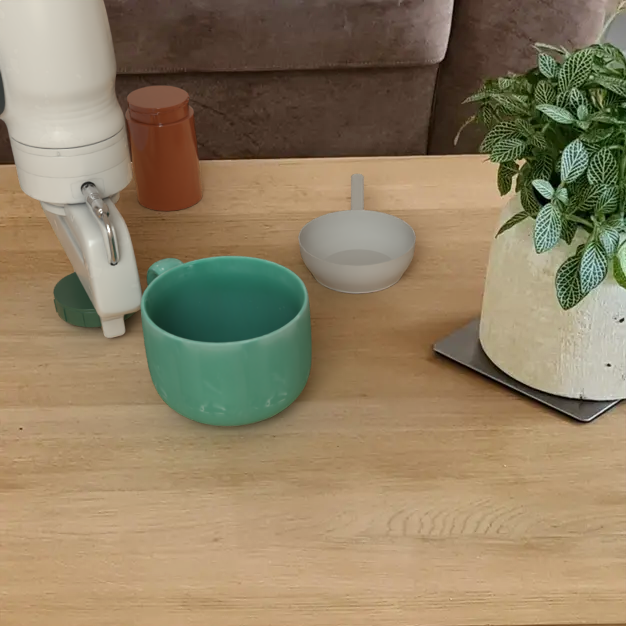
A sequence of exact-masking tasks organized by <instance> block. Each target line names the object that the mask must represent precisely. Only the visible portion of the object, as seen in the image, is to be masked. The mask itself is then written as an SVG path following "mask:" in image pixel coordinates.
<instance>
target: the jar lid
mask: <svg viewBox="0 0 626 626" xmlns="http://www.w3.org/2000/svg"><path fill="white" fill-rule="evenodd" d="M52 294H53V305H54V308H55V312H56V313H57V315H58V317H59V318H60V319H61V320H63V321H64V322H65V323H66V324H70V325H73V326H76V327H81V328H101V327H100V322H99V318H98V313H97V312H96V310H95V308H94V306H93V304H92V302H91V300H90V298H89V296H88V294H87V293H86V291H85V289H84V287H83V285H82V283H81V281H80V279H79V278H78V276H77V274H76V272H74V271H73V272H72V273H69V274H67V275H65V276H64V277H61V279H59V280H58V281H57V283H56V284H55V286H54V288H53V292H52ZM137 312H138V311H136V312H133V313H129V314H125V315H124V317H123V318H124V321H126V320H129V318H131V317H132V316H134V315H135V314H136V313H137Z"/></svg>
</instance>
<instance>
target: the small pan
mask: <svg viewBox="0 0 626 626" xmlns="http://www.w3.org/2000/svg"><path fill="white" fill-rule="evenodd" d="M297 239H298V244H299V245H298V246H299V252H300V258H301V260H302V261H303V264H304V265H305V267H306V269H307V270H308V271H309V272H310V273H311V275H312V276H313V278H314V279H315V280H316V281H317V283H318V284H320V285H321V286H323V287H325V288H327V289H329V290H332V291H335V292H339V293H346V294H369V293H374V292H380V291H383V290H386V289H388V288H390V287H392V286H394V285H396V284H397V283H398V282H399V281H400V280H401V279H402V277H403V276H404V274H405V273H406V271H407V269H408V268H409V267H410V265H411V263H412V262H413V259H414V255H415V251H416V250H415V249H416V239H417V236H416V232H415V229H413V227H412V225H410V224H409V223H408V222H407V221H405V220H404V219H402V218H400V217H398V216H396V215H392V214H391V213H386V212H383V211H377V210H370V209H365V176H364V174H362V173H353V174H352V175H351V176H350V209H346V210H345V209H344V210H337V211H332V212H328V213H326V214H322V215H319V216H317V217H315V218H312V219H311V220H310V221H308V222H307V223H306V224H305V225H303V226H302V228H301V229H300V231H299V233H298V238H297Z"/></svg>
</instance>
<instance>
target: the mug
mask: <svg viewBox="0 0 626 626" xmlns="http://www.w3.org/2000/svg"><path fill="white" fill-rule="evenodd" d="M146 272H147V273H146V286H147V287H146V288H145V289H144V291H143V292H142V299H141V309H140V317H141V319H140V320H141V327H142V335H143V343H144V350H145V357H146V362H147V367H148V372H149V375H150V379H151V382H152V384H153V386H154V389H155V390H156V392H157V394H158V395H159V397H160V398H161V399H162V400H163V402H164V403H165V404H166V405H167V406H168V407H169V408H170V409H172V411H174V412H176V413H177V414H179V415H180V416H183V417H184V418H186V419H189V420H191V421H193V422H196V423H199V424H204V425H208V426H217V427H239V426H247V425H251V424H256V423H260V422H263V421H265V420H267V419H270V418H272V417H275V416H276V415H278V414H280V413H281V412H283V411H284V410H286V409H287V408H289V407H290V406H291V405H292V404H293V403H294V402H295V401H296V400H297V399H298V397H299V396H300V395H302V394H301V393H302V392H303V391H304V389H305V387H306V385H307V383H308V380H309V378H310V374H311V373H310V372H311V368H312V359H313V358H312V357H313V354H312V353H313V345H312V343H313V342H312V341H313V340H312V320H311V307H310V306H311V305H310V297H309V292H308V289H307V286H306V284H305V283H304V281H303V279H302V277H300V276H299V275H298V274H297V273H295V272H294V271H293V270H291V269H290V268H288V267H287V266H284V265H282V264H280V263H277V262H275V261H271V260H269V259H264V258H260V257H254V256H245V255H218V256H217V255H216V256H209V257H203V258H197V259H194V260H190V261H186V262H183V261H182V260H181V259H178V258H175V257H166V258H161V259H159V260H157V261H155V262H153V263H152V264H151V265H150V266H149V267H148V268H147V271H146Z"/></svg>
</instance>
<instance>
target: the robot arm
mask: <svg viewBox="0 0 626 626" xmlns="http://www.w3.org/2000/svg"><path fill="white" fill-rule="evenodd" d="M111 31H112V30H111V26H110V22H109V16H108V13H107V8H106V5H105V1H104V0H0V120H1V121H3V122H4V123H5V126H6V129H7V132H8V137H9V142H10V147H11V151H12V155H13V160H14V165H15V169H16V174H17V179H18V183H19V187H20V189H21V191H22V192H23V193H24V194H25V195H26V196H27V197H30V198H31V199H34V200H36V201H38V202H39V204H40V206H41V209H42V211H43V214H44V216H45V217H46V220H47V221H48V223H49V225H50V227H51V229H52V230H53V233H54V234H55V236H56V238H57V240H58V242H59V244H60V245H61V248H62V249H63V252H64V253H65V255H66V257H67V259H68V260H69V262H70V265H71V267H72V268H73V273H74V272H76V274H77V276H78V278H79V279H80V281H81V283H82V285H83V287H84V289H85V291H86V293H87V294H88V296H89V298H90V300H91V302H92V304H93V306H94V308H95V310H96V312H97V313H98V318H99V322H100V327H99V328H100V330H101V332H102V333H103V335H104V337H105V338H107V339H113V338H116V337H121V336H123V335H125V333H126V324H125V320H124V318H123V317H124V315H125V314H129V313H133V312H136V311H137V312H139V311H141V299H142V295H143V290H142V285H141V279H140V274H139V270H138V265H137V259H136V254H135V249H134V246H133V245H134V244H133V241H132V238H131V233H130V231H129V227H128V224H127V223H126V221H125V219H124V217H123V215H122V214H121V212H120V211H119V209H118V208H117V206H116V204H117V203H118V201H120V198H121V191H123V190H124V189H126V188H127V187H128V186H129V185H130V183H131V182H132V180H133V178H134V172H133V165H132V159H131V152H130V145H129V138H128V132H127V125H126V118H125V114H124V111H123V109H122V107H121V105H120V102H119V101H118V98H117V93H116V79H117V77H116V76H117V68H118V67H117V60H116V53H115V47H114V42H113V36H112V32H111ZM137 312H136V313H137Z"/></svg>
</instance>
